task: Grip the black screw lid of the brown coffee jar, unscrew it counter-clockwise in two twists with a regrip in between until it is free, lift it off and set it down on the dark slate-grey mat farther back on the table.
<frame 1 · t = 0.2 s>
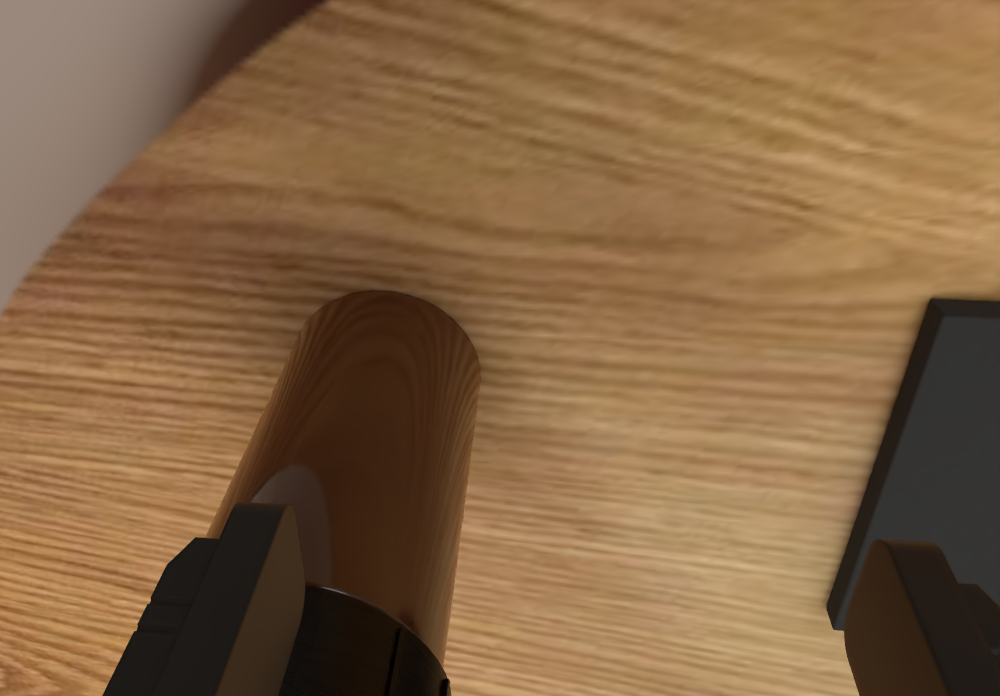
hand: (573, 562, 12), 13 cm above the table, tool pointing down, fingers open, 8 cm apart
coffee jar: (387, 371, 27), on the table
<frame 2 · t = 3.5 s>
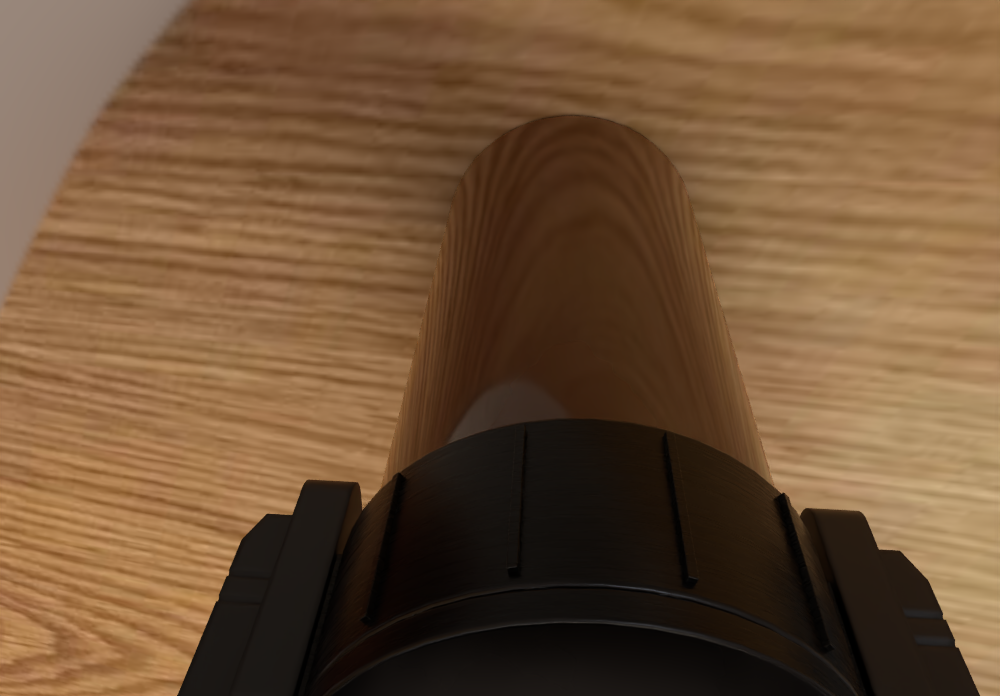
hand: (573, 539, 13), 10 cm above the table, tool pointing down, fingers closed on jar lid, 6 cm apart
coffee jar: (569, 232, 21), on the table
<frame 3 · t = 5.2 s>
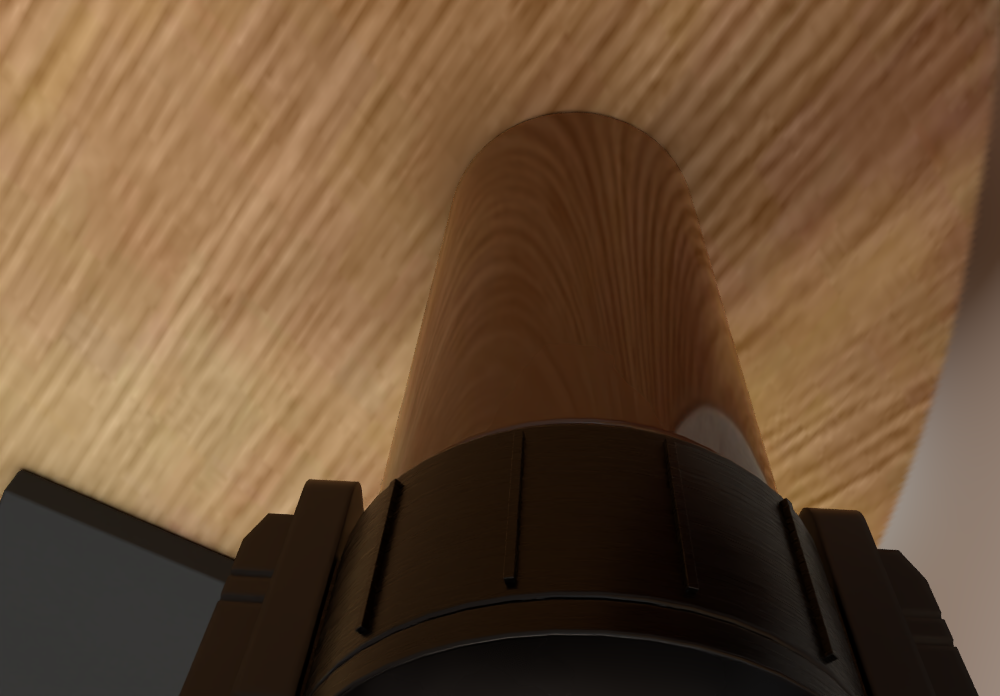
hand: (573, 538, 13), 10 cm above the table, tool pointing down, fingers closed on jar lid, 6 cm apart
coffee jar: (570, 229, 21), on the table
mat: (156, 660, 31), on the table
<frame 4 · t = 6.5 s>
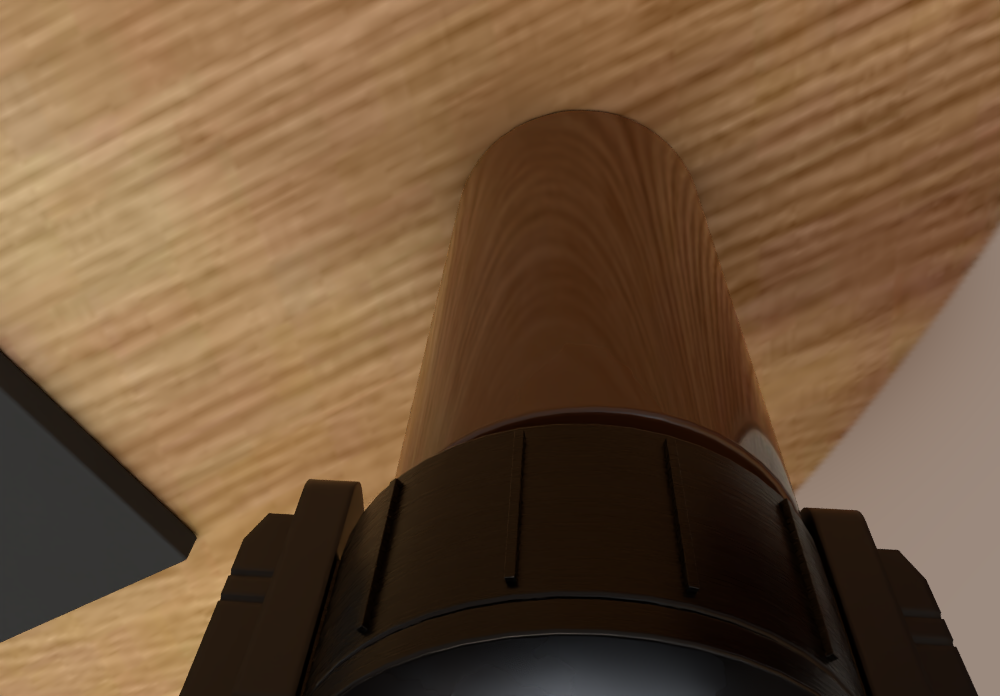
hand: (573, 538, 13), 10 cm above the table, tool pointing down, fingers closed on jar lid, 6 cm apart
coffee jar: (577, 227, 21), on the table, touching gripper
when the fingers open (10 cm above the table, at t = 8.9 s): jar lid stays where it is, point 14 cm above the table.
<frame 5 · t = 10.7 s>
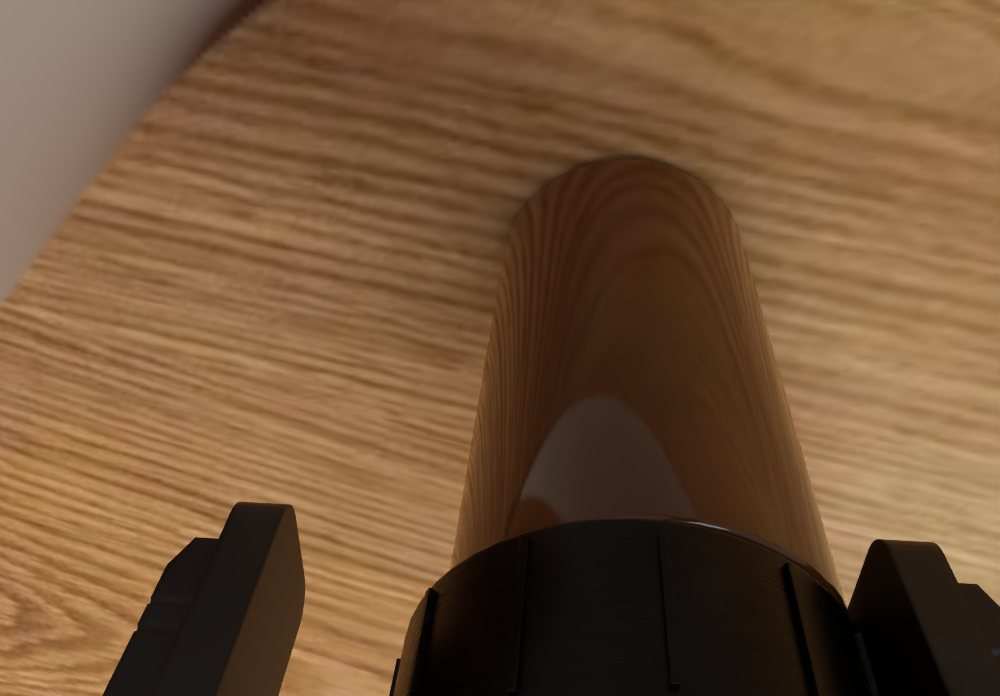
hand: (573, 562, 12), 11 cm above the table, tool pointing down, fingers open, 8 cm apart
coffee jar: (621, 269, 21), on the table
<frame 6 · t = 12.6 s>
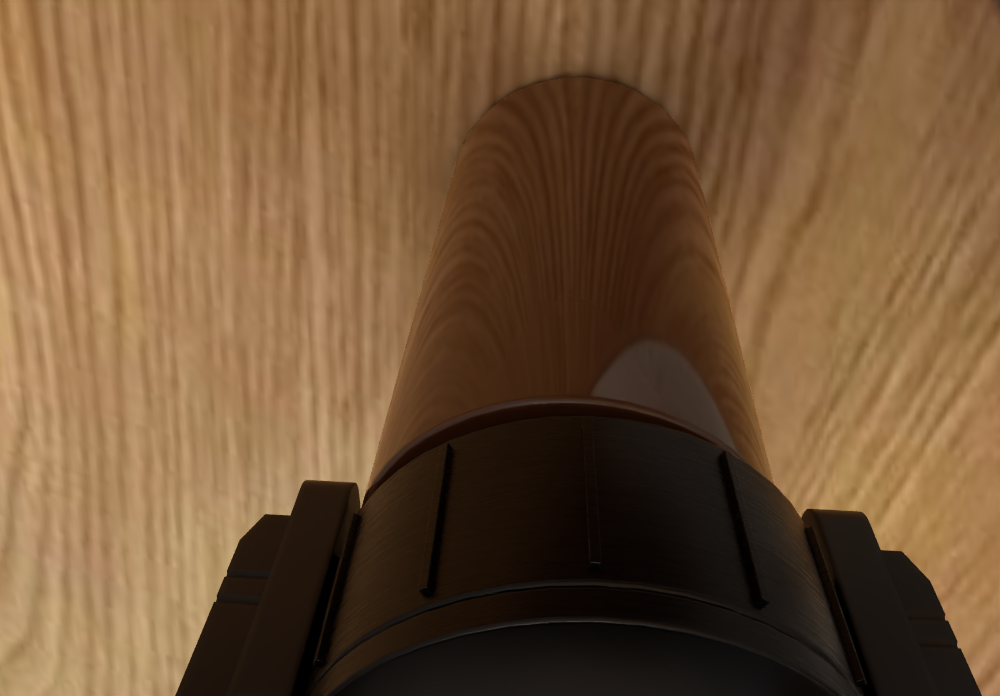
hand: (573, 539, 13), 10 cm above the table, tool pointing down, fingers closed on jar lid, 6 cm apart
coffee jar: (573, 196, 21), on the table
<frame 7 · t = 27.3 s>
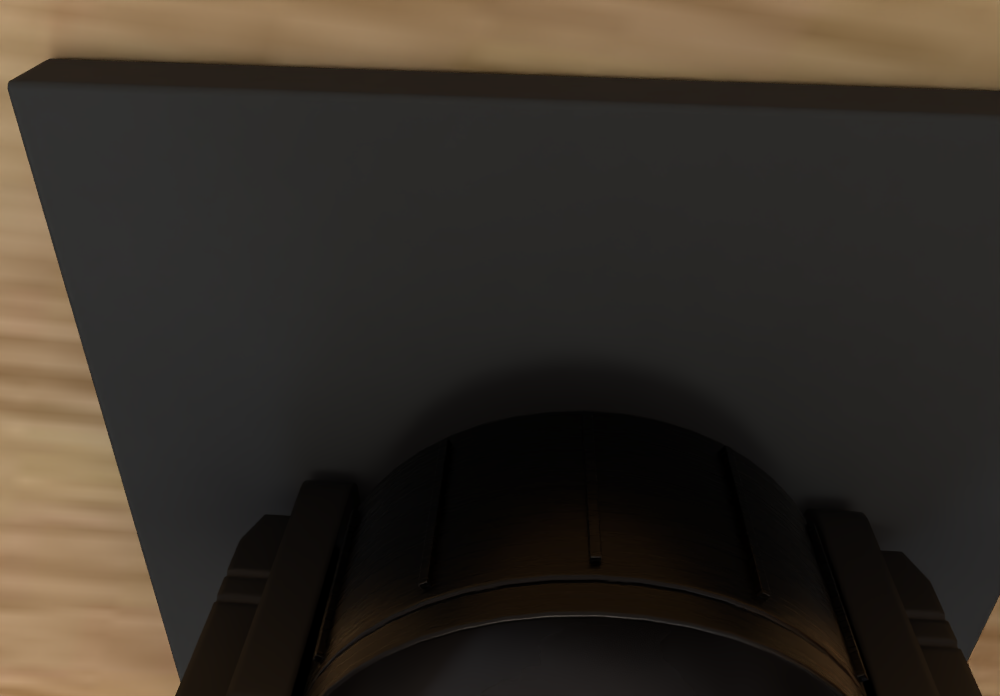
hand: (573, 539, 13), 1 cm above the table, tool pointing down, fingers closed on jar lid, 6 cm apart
mat: (565, 493, 14), on the table
when the fingers open (2 cm above the table, at t = 38.3 s): jar lid drops 2 cm, resting on mat.
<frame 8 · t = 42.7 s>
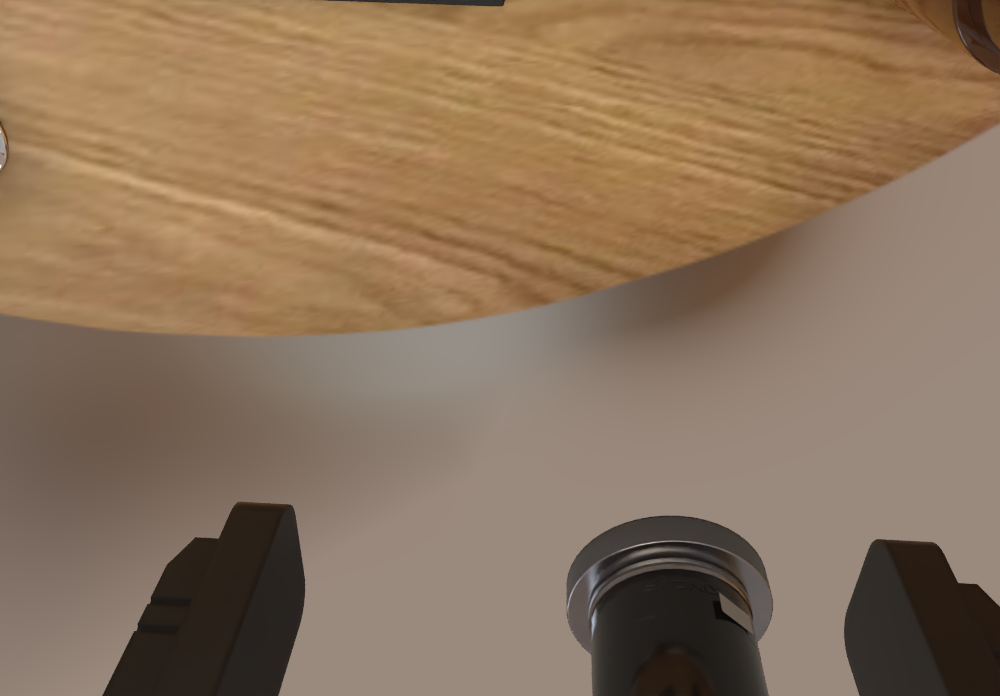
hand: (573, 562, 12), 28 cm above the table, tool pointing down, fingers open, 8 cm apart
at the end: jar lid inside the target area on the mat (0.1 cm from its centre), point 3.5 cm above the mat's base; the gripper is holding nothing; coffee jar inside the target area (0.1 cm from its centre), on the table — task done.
